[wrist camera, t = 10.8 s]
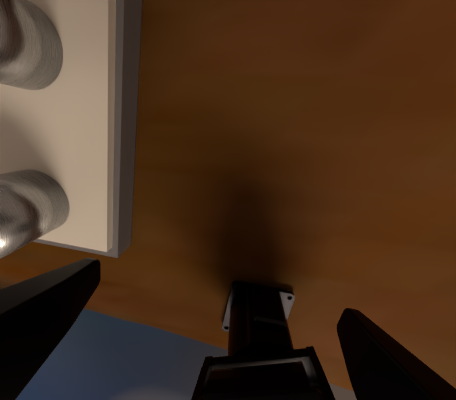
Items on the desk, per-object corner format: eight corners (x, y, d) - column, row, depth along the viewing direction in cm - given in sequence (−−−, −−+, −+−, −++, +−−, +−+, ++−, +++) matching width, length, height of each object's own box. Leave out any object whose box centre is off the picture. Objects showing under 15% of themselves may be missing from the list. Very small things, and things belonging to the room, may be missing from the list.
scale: (130, 244, 21) (101, 274, 17) (-28, 213, 21) (-100, 235, 17) (142, -3, 15) (100, -59, 10) (-85, -49, 15) (-226, -127, 10)
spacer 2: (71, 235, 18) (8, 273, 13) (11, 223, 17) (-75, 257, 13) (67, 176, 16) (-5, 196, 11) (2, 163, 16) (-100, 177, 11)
